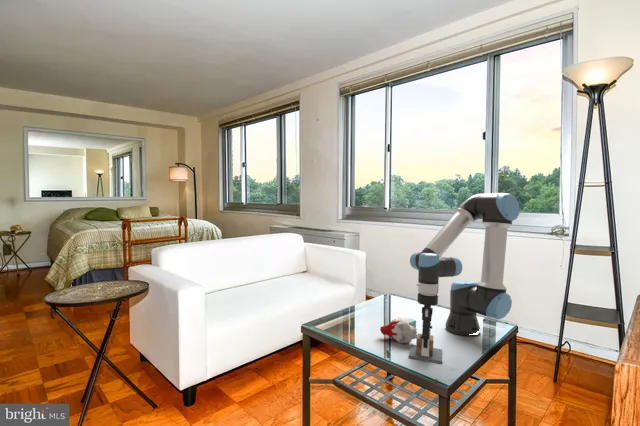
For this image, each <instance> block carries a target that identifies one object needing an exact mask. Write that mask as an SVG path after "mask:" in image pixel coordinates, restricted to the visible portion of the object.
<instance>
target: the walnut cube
mask: <svg viewBox="0 0 640 426" xmlns="http://www.w3.org/2000/svg"><path fill="white" fill-rule="evenodd" d="M420 336H422V333H418V332H417V338H416V343H415V345H416V354H419V355H421V351H422V338H420ZM425 336H427V335H425ZM429 337H430V341H429V356H431V357H433V348H434V335H433V334H432V335H431V334H430V335H429Z"/></svg>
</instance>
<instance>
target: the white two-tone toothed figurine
mask: <svg viewBox="0 0 640 426" xmlns="http://www.w3.org/2000/svg"><path fill="white" fill-rule="evenodd" d="M379 331H380V334H382V335H384V336H385V335H386V336H389V338H391V339H392V340H393V341H397V342H398V343H399V344H410V343H411V342H412V341H413V340H417V334H418V332H417V327H416V328H415V327H413V326H411V325H409V323H408V322H407V321H406V320H403V319H399V320H398V319H397V318H395V319H392V320H391V321H390V323H388V324H387V325H384V326H383V325H382V326H380V329H379Z"/></svg>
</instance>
